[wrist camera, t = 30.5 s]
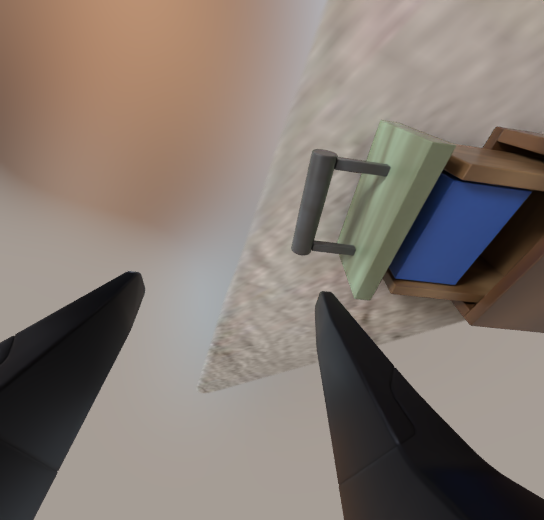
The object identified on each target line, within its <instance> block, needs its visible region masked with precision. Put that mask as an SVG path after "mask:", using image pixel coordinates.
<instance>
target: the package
mask: <svg viewBox="0 0 544 520" xmlns="http://www.w3.org/2000/svg"><path fill="white" fill-rule="evenodd" d="M531 193H532V192H531V191H530V190H527V189H522V188H515V187H508V186H501V185H494V184H487V183H480V182H473V181H466V180H461V179H459V178H458V177H456V176H454V175H452V174H450V173H449V172H447V171H445V170H443V171H442V173H441V175H440V176H439V178H438V180H437V182H436V183H435V185H434V187H433V189H432V191H431V192H430V194H429V196H428V198H427V200H426V201H425V203H424V205H423V207H422V209H421V210H420V212H419V214H418V216H417V217H416V219H415V221H414V223H413V225H412V226H411V228H410V230H409V232H408V234H407V235H406V237H405V239H404V241H403V243H402V244H401V246H400V248H399V250H398V251H397V253H396V255H395V257H394V259H393V260H392V262H391V264H390V266H389V269H390V271H391V272H392V274H393V276H394V277H395V278H396V279H404V280H414V281H423V282H432V283H441V284H450V285H455V284H456V283H457V282H458V281H459V279H460V278H461V277H462V276H463V275H464V273H465V272H466V271H467V270H468V269H469V267H470V266H471V265H472V264H473V263H474V261H475V260H476V259H477V258H478V257H479V255H480V254H481V253H482V252H483V251H484V249H485V248H486V247H487V246H488V245H489V243H490V242H491V241H492V240H493V238H494V237H495V236H496V235H497V234H498V232H499V231H500V230H501V229H502V228H503V226H504V225H505V224H506V223H507V222H508V220H509V219H510V218H511V217H512V216H513V214H514V213H515V212H516V211H517V210H518V208H519V207H520V206H521V205H522V204H523V202H524V201H525V200H526V199H527V198H528V196H529V195H530V194H531Z"/></svg>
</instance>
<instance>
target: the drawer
mask: <svg viewBox="0 0 544 520" xmlns="http://www.w3.org/2000/svg"><path fill="white" fill-rule="evenodd" d="M334 169H335V170H342V171H349V172H356V173H362V174H361V177H360V180H359V183H358V185H357V188H356V191H355V194H354V197H353V199H352V202H351V205H350V208H349V211H348V213H347V216H346V219H345V222H344V225H343V228H342V230H341V233H340V236H339V239H338V242H337V243H330V242H322V241H314V238H315V235H316V231H317V228H318V224H319V220H320V217H321V213H322V210H323V206H324V203H325V199H326V196H327V192H328V188H329V185H330V181H331V178H332V174H333V171H334ZM443 170H445V171H447V172H449V173H450V174H452V175H454V176H456V177H458V178H459V179H461V180H466V181H473V182H480V183H487V184H494V185H501V186H508V187H515V188H522V189H527V190H530V191H531V192H532V193H531V194H530V195H529V196H528V198H527V199H526V200H525V201H524V202H523V204H522V205H521V206H520V207H519V208H518V210H517V211H516V212H515V213H514V214H513V216H512V217H511V218H510V219H509V220H508V222H507V223H506V224H505V225H504V226H503V228H502V229H501V230H500V231H499V232H498V234H497V235H496V236H495V237H494V238H493V240H492V241H491V242H490V243H489V245H488V246H487V247H486V248H485V249H484V251H483V252H482V253H481V254H480V255H479V257H478V258H477V259H476V260H475V261H474V263H473V264H472V265H471V266H470V267H469V269H468V270H467V271H466V272H465V273H464V275H463V276H462V277H461V278H460V279H459V281H458V282H457V283H456V284H455V285H450V284H441V283H432V282H423V281H414V280H404V279H396V278H395V277H394V276H393V274H392V272H391V271H390V269H389V266H390V264H391V262H392V260H393V259H394V257H395V255H396V253H397V251H398V250H399V248H400V246H401V244H402V243H403V241H404V239H405V237H406V235H407V234H408V232H409V230H410V228H411V226H412V225H413V223H414V221H415V219H416V217H417V216H418V214H419V212H420V210H421V209H422V207H423V205H424V203H425V201H426V200H427V198H428V196H429V194H430V192H431V191H432V189H433V187H434V185H435V183H436V182H437V180H438V178H439V176H440V175H441V173H442V171H443ZM543 236H544V157H537V156H531V155H524V154H518V153H511V152H504V151H498V150H491V149H485V148H478V147H471V146H465V145H458V144H452V143H449V142H447V141H444V140H441V139H439V138H436V137H433V136H431V135H428V134H426V133H423V132H420V131H418V130H415V129H413V128H410V127H407V126H405V125H402V124H399V123H397V122H390V121H384V120H381V121H380V124H379V126H378V129H377V132H376V135H375V138H374V140H373V143H372V146H371V149H370V152H369V154H368V157H367V160H366V161H362V160H355V159H348V158H341V157H338V156H337V154H336V153H334V152H331V151H328V150H322V149H315V150H313V151H312V154H311V159H310V164H309V168H308V173H307V177H306V182H305V187H304V191H303V196H302V200H301V205H300V210H299V214H298V219H297V224H296V228H295V233H294V237H293V242H292V247H291V249H292V251H293V252H294V253H296V254H298V255H308V254H309V253H310V252H311V249H312V251H318V252H327V253H336V254H339V256H340V259H341V261H342V264H343V267H344V270H345V273H346V276H347V279H348V281H349V284H350V287H351V290H352V293H353V296H354V298H355V299H361V300H371V298H372V296H373V294H374V293H375V291H376V289H377V287H378V285H379V284H380V282H381V280H382V278H383V279H384V281H385V283H386V285H387V287H388V289H389V291H390V293H391V294H399V295H408V296H418V297H427V298H437V299H446V300H455V301H465V302H474V303H478V302H479V301H480V300H481V299H482V298H483V297H484V296H485V295H486V294H487V293H488V292H489V291H490V290H491V289H492V288H493V287H494V286H495V285H496V284H497V283H498V282H499V281H500V280H501V279H502V278H503V277H504V276H505V275H506V274H507V273H508V272H509V271H510V270H511V269H512V268H513V266H514V265H515V264H516V263H517V262H518V261H519V260H520V259H521V258H522V257H523V256H524V255H525V254H526V253H527V252H528V251H529V250H530V249H531V248H532V247H533V246H534V245H535V244H536V243H537V242H538V241H539V240H540V239H541V238H542V237H543Z"/></svg>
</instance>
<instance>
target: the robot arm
mask: <svg viewBox="0 0 544 520" xmlns="http://www.w3.org/2000/svg"><path fill="white" fill-rule="evenodd" d="M144 293H145V286H144V283H143V279H142V276H141V274H140V273H139V272H131V271H128V272H125V273H124V274H122V275H120V276H118V277H117V278H115V279H113V280H111V281H109V282H108V283H106V284H104V285H102V286H101V287H99V288H97V289H96V290H93V291H92V292H90V293H88V294H86V295H85V296H83V297H81V298H79V299H77V300H76V301H74V302H72V303H70V304H69V305H67V306H65V307H63V308H61V309H60V310H58V311H56V312H54V313H53V314H51V315H49V316H47V317H45V318H44V319H42V320H40V321H38V322H37V323H35V324H33V325H31V326H30V327H28V328H26V329H24V330H22V331H21V332H19V333H17V334H16V335H15V336H12V337H10V338H8V339H6V340H4V341H3V342H1V343H0V520H33V519H34V517H35V516H36V514H37V511H38V510H39V508H40V506H41V504H42V502H43V500H44V498H45V496H46V494H47V492H48V490H49V488H50V486H51V484H52V483H53V480H54V479H55V477H56V475H57V471H58V470H59V468H60V466H61V465H62V463H63V461H64V459H65V457H66V455H67V453H68V451H69V449H70V447H71V445H72V443H73V441H74V439H75V438H76V436H77V434H78V432H79V430H80V428H81V426H82V424H83V422H84V420H85V418H86V416H87V414H88V412H89V410H90V408H91V406H92V404H93V403H94V401H95V399H96V397H97V395H98V393H99V391H100V389H101V387H102V385H103V383H104V381H105V379H106V377H107V375H108V373H109V372H110V370H111V368H112V366H113V364H114V362H115V360H116V358H117V356H118V354H119V352H120V350H121V348H122V346H123V344H124V342H125V340H126V339H127V337H128V335H129V332H130V331H131V328H132V326H133V323H134V320H135V318H136V315H137V313H138V310H139V307H140V304H141V302H142V299H143V297H144ZM315 325H316V346H317V354H318V360H319V366H320V372H321V378H322V385H323V391H324V396H325V402H326V409H327V416H328V422H329V428H330V434H331V439H332V446H333V453H334V459H335V465H336V471H337V478H338V484H339V491H340V497H341V503H342V509H343V515H344V520H544V499H542V498H541V497H539V496H537V495H536V494H534V493H532V492H531V491H529V490H527V489H526V488H524V487H522V486H521V485H519V484H517V483H515V482H514V481H512V480H511V479H509V478H507V477H506V476H504V475H503V474H501V473H500V472H498V471H497V470H496V469H494V468H493V467H492V466H491V465H489V464H488V463H487V462H485V460H483V459H482V458H481V457H480V456H479V455H478V454H477V453H476V452H474V450H473V449H472V448H471V447H470V446H469V445H468V444H467V443H466V442H465V441H464V440H463V439H462V438H461V437H460V436H459V435H458V434H457V433H456V432H455V431H454V430H453V429H452V428H451V427H450V426H449V425H448V424H447V423H446V422H445V421H444V420H443V419H442V418H441V417H440V416H439V415H438V414H437V413H436V412H435V411H434V410H433V409H432V408H431V406H430V405H429V404H428V403H427V402H426V401H425V400H424V399H423V398H422V397H421V396H420V395H419V394H418V393H417V392H416V391H415V389H414V388H413V387H412V386H411V385H410V384H409V383H408V382H407V380H406V379H405V378H404V377H403V376H402V375H401V373H400V372H399V371H398V370H397V369H396V368H394V365H393V364H392V363H391V362H390V361H389V359H388V358H387V357H386V356H385V355H384V354H383V352H382V351H381V350H380V349H379V348H378V346H377V345H376V344H375V343H374V342H373V340H372V339H371V338H370V337H369V336H368V335H367V333H366V332H365V331H364V330H363V329H362V327H361V326H360V325H359V324H358V323H357V322H356V320H355V319H354V318H353V317H352V316H351V315H350V313H349V312H348V311H347V310H346V309H345V307H344V306H343V305H342V304H341V303H340V302H339V300H338V299H337V298H336V297H335V296H334V294H333V293H331V292H325V291H322V292H320V294H319V297H318V300H317V303H316V305H315Z"/></svg>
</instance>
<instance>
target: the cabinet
mask: <svg viewBox="0 0 544 520" xmlns="http://www.w3.org/2000/svg"><path fill="white" fill-rule="evenodd" d="M483 148H485V149H491V150H498V151H504V152H511V153H518V154H524V155H531V156H537V157H544V134H540V133H534V132H527V131H521V130H515V129H508V128H502V127H496V128H495V129H494V131H493V133H492V134H491V136H490V137H489V139H488V141H487V142H486V144H485V145H484V147H483ZM451 302H452V303H453V304H454V305H455V307H456V308H457V309H458V311H459V312H460V313H461V314H462V316H463V317H464V318H465V319H466V321H467V322H468V323H469V324H470V325H471V326H480V327H490V328H501V329H510V330H521V331H530V332H541V333H544V236H543V237H542V238H541V239H540V240H539V241H538V242H537V243H536V244H535V245H534V246H533V247H532V248H531V249H530V250H529V251H528V252H527V253H526V254H525V255H524V256H523V257H522V258H521V259H520V260H519V261H518V262H517V263H516V264H515V265H514V266H513V268H512V269H511V270H510V271H509V272H508V273H507V274H506V275H505V276H504V277H503V278H502V279H501V280H500V281H499V282H498V283H497V284H496V285H495V286H494V287H493V288H492V289H491V290H490V291H489V292H488V293H487V294H486V295H485V296H484V297H483V298H482V299H481V300H480V301H479V302H478V303H474V302H465V301H455V300H451Z"/></svg>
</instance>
